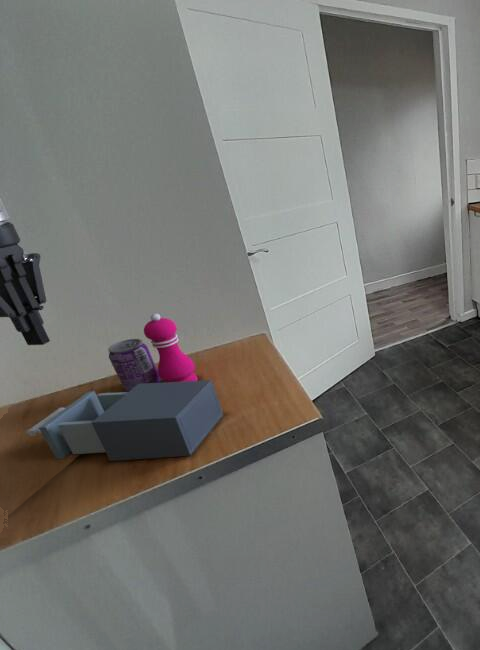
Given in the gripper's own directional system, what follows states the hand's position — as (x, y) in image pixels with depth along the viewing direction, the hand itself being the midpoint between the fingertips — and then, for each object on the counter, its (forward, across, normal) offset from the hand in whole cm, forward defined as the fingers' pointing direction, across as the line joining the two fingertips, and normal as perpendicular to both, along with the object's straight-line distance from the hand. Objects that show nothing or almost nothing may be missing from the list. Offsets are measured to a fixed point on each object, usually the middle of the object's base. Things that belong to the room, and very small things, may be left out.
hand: (39, 343), depth 80 cm
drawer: (+20, -5, -8) cm, 22 cm away
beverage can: (+21, +15, -2) cm, 26 cm away
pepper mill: (+21, +15, -12) cm, 28 cm away
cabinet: (+21, -5, -21) cm, 30 cm away
